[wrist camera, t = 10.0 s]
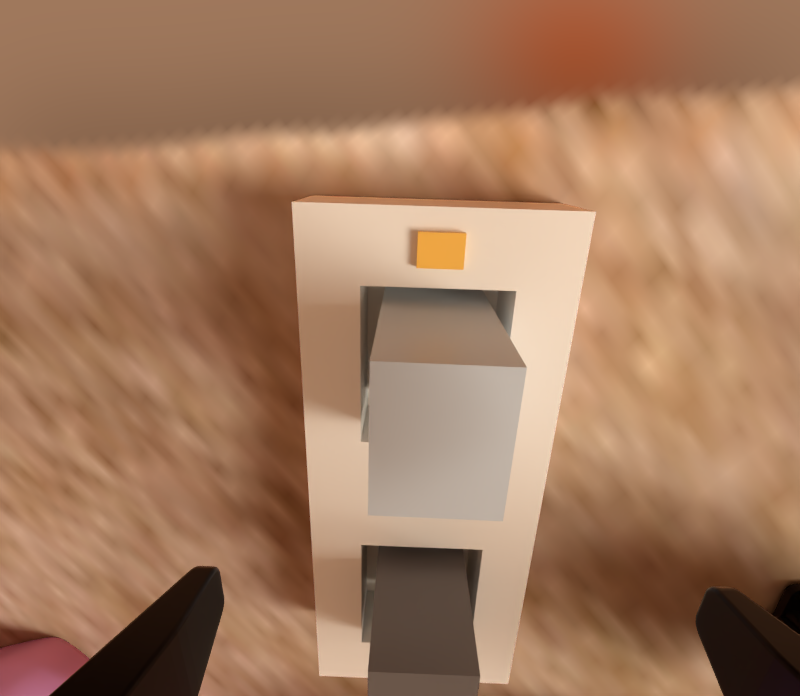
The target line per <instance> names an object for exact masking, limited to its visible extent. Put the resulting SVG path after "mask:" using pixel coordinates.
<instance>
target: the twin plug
mask: <svg viewBox="0 0 800 696" xmlns="http://www.w3.org/2000/svg"><path fill="white" fill-rule="evenodd" d="M479 682H480V670H479V663H478V655H477V648H476V641H475V633H474V626H473V619H472V611H471V604H470V596H469V589H468V582H467V574H466V567H465V560H464V552H463V549H450V548H425V547H401V546H379V547H378V558H377V570H376V582H375V594H374V605H373V617H372V629H371V640H370V652H369V664H368V696H478V689H479Z"/></svg>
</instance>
